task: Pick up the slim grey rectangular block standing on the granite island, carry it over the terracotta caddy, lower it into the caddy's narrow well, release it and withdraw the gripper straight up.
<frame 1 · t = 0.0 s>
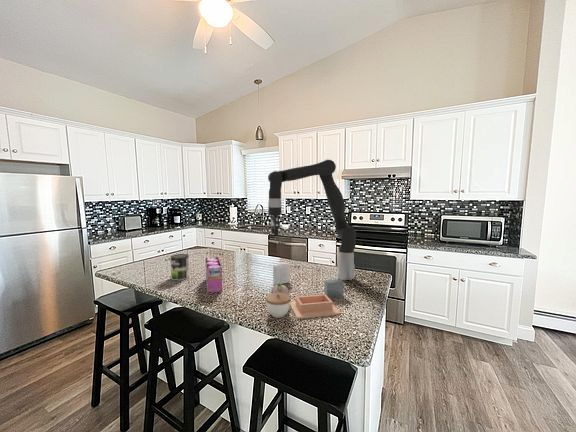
hand: (274, 234, 148), 29 cm above the countertop, fingers open, 8 cm apart
grey rectangular block: (333, 295, 134), on the countertop
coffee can: (180, 278, 160), on the countertop
lidded jar: (278, 314, 113), on the countertop
decorative fruit: (280, 303, 124), on the countertop
caddy: (313, 308, 119), on the countertop
gum box: (213, 285, 148), on the countertop
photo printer: (281, 283, 152), on the countertop
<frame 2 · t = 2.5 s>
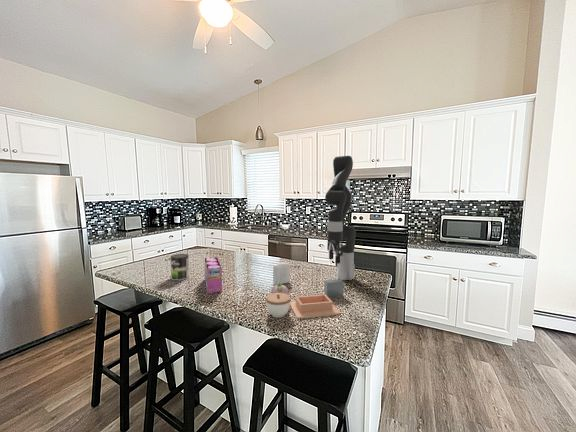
hand: (334, 261, 132), 18 cm above the countertop, fingers open, 8 cm apart
nothing on the countertop moved.
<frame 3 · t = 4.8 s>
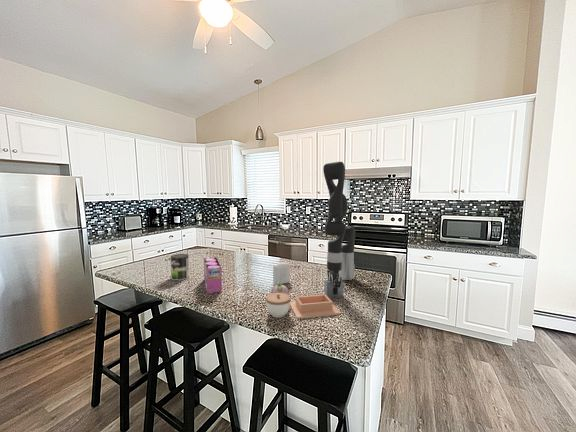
hand: (333, 292, 134), 2 cm above the countertop, fingers closed on grey rectangular block, 4 cm apart
grey rectangular block: (333, 295, 134), on the countertop, touching gripper
everything else where it was.
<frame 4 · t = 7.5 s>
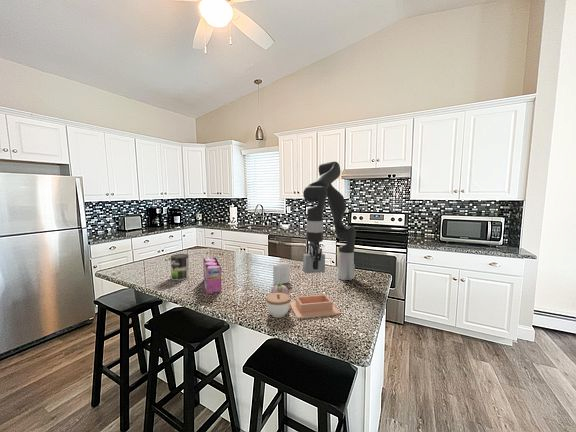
hand: (314, 267, 117), 19 cm above the countertop, fingers closed on grey rectangular block, 4 cm apart
grey rectangular block: (313, 271, 117), point 18 cm above the countertop, touching gripper
everything else where it was.
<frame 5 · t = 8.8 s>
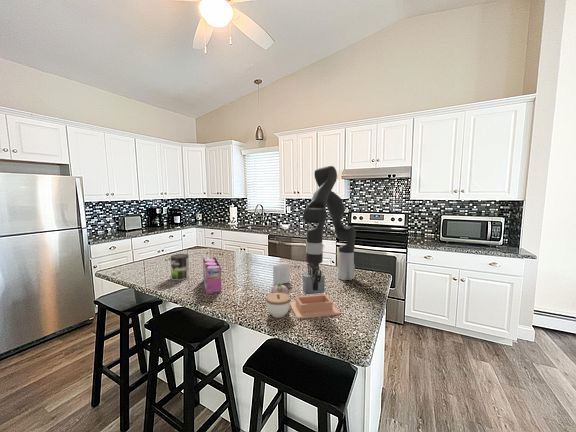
hand: (313, 288, 118), 10 cm above the countertop, fingers closed on grey rectangular block, 4 cm apart
grey rectangular block: (313, 292, 118), point 8 cm above the countertop, touching gripper
when the fingers open (5 cm above the countertop, at t = 10.1 s): grey rectangular block drops 2 cm, resting on caddy.
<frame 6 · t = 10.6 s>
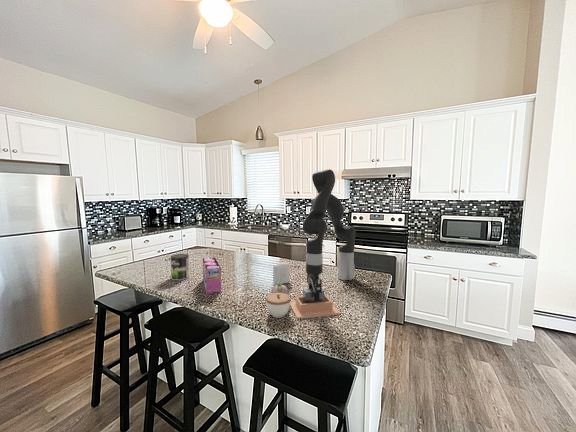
hand: (313, 296, 118), 6 cm above the countertop, fingers open, 8 cm apart
grey rectangular block: (313, 306, 119), point 1 cm above the countertop, touching caddy
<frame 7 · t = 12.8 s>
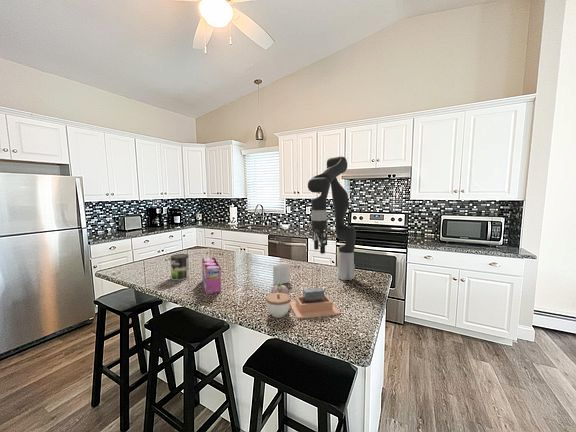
hand: (319, 251, 127), 25 cm above the countertop, fingers open, 8 cm apart
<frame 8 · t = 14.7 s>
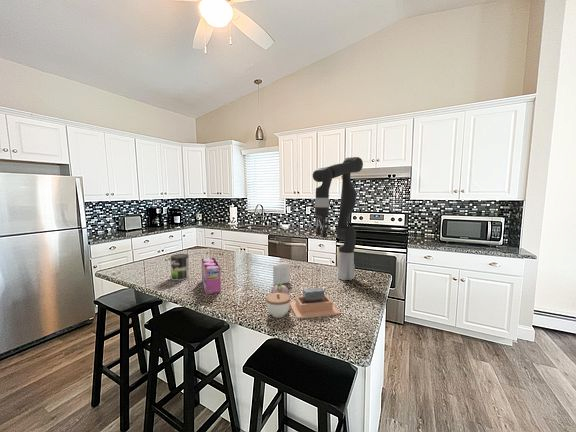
hand: (321, 236, 139), 30 cm above the countertop, fingers open, 8 cm apart
at the end: grey rectangular block inside the target area on the caddy (0.1 cm from its centre), point 0.8 cm above the caddy's base; grey rectangular block tilted 0°; the gripper is holding nothing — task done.
